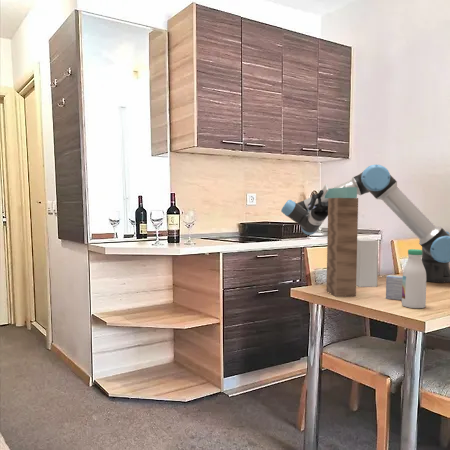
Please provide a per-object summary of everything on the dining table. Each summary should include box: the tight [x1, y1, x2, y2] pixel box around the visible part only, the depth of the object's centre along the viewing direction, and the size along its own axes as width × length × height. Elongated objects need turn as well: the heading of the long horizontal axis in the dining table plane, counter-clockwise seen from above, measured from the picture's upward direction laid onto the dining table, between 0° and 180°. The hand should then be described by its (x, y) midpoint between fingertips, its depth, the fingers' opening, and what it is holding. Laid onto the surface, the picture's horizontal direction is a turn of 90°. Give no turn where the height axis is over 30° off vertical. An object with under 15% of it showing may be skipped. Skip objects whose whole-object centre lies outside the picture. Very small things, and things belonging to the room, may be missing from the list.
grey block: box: [356, 238, 379, 288], centre depth 192 cm, size 10×8×20 cm
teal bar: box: [325, 187, 358, 198], centre depth 173 cm, size 22×4×4 cm, turn 9°
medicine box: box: [385, 274, 403, 301], centre depth 164 cm, size 8×4×9 cm, turn 58°
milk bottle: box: [401, 248, 427, 309], centre depth 152 cm, size 8×8×20 cm
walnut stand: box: [326, 197, 359, 298], centre depth 171 cm, size 10×8×38 cm
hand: (336, 187), depth 176 cm, fingers open, 8 cm apart
